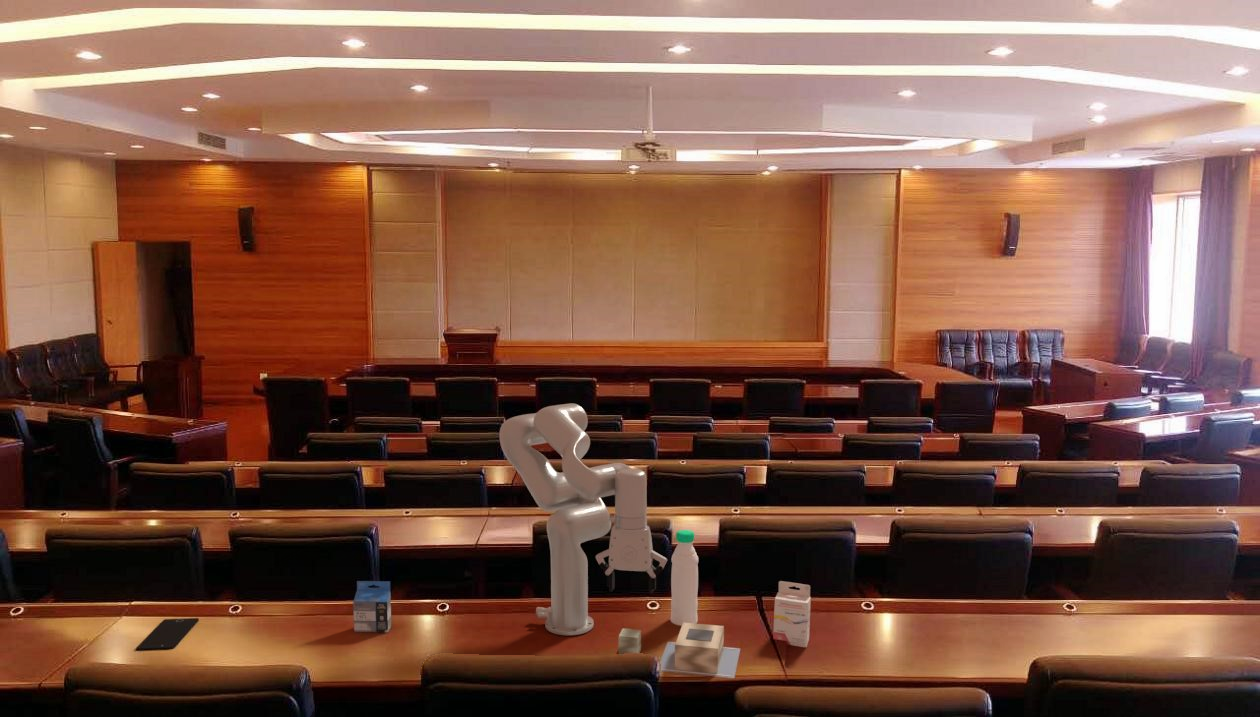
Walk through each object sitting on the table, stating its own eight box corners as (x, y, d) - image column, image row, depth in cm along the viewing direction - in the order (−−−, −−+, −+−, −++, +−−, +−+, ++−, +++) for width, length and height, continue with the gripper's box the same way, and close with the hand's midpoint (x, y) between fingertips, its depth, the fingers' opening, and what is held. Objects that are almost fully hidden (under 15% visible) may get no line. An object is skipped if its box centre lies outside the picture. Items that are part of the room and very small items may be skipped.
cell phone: (199, 621, 245) (199, 617, 245) (173, 650, 227) (173, 647, 227) (164, 622, 244) (164, 619, 244) (135, 652, 226) (135, 648, 226)
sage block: (618, 659, 223) (618, 636, 222) (622, 651, 227) (622, 628, 227) (637, 661, 222) (637, 637, 221) (640, 653, 226) (641, 629, 226)
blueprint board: (656, 674, 215) (656, 670, 215) (667, 645, 231) (667, 641, 231) (734, 682, 212) (734, 677, 212) (740, 652, 227) (740, 648, 227)
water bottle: (695, 630, 240) (697, 536, 237) (668, 628, 241) (669, 535, 238) (699, 619, 247) (700, 528, 244) (672, 617, 248) (673, 526, 245)
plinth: (674, 669, 216) (674, 644, 215) (682, 645, 228) (683, 622, 228) (717, 673, 214) (717, 648, 213) (723, 649, 226) (723, 625, 226)
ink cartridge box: (772, 643, 233) (773, 586, 231) (776, 635, 237) (777, 580, 235) (806, 648, 230) (808, 591, 228) (809, 640, 234) (811, 584, 233)
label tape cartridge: (353, 632, 237) (351, 586, 236) (357, 626, 241) (356, 580, 240) (388, 633, 237) (386, 586, 236) (391, 626, 241) (390, 581, 240)
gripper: (591, 524, 218) (592, 594, 220) (664, 527, 215) (664, 599, 217) (599, 515, 226) (600, 583, 228) (669, 518, 222) (669, 587, 224)
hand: (631, 591), depth 222 cm, fingers open, 9 cm apart
